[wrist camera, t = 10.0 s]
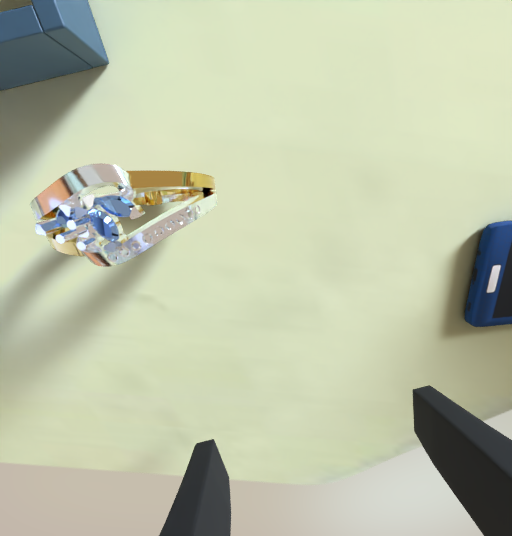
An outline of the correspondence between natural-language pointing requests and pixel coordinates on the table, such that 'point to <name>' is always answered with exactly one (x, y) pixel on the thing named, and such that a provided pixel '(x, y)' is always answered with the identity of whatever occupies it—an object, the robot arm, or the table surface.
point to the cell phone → (492, 278)
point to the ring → (117, 210)
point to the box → (48, 42)
